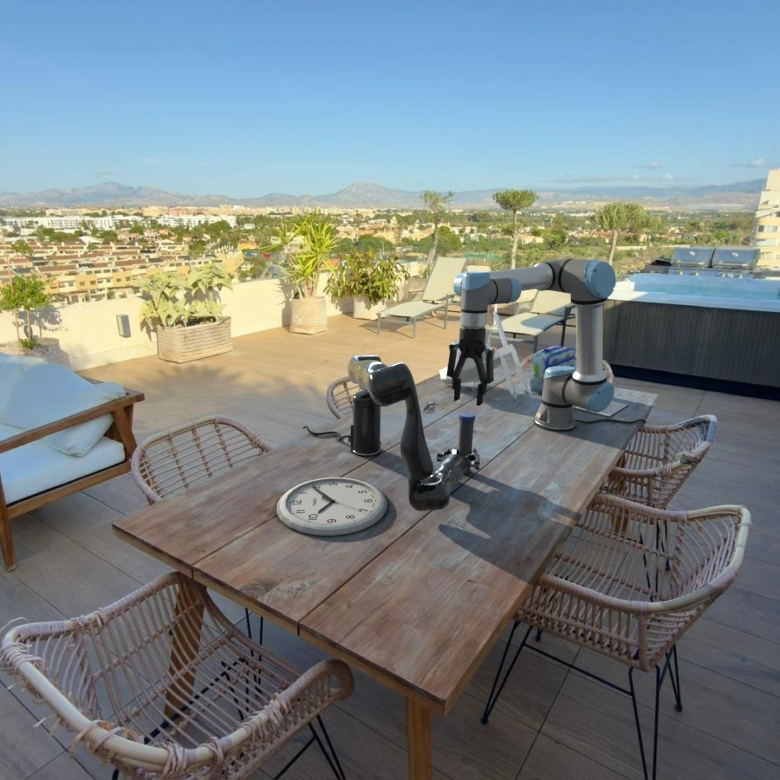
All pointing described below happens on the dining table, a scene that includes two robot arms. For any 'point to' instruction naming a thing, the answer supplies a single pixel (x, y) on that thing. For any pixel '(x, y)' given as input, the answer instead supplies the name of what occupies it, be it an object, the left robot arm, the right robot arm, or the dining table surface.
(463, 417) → the lid
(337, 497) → the wall clock
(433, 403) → the fork
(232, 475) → the dining table surface
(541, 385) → the lunch box
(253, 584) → the dining table surface
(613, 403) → the grey flat rectangular slab
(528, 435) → the dining table surface
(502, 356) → the white plastic object
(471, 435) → the bottle
